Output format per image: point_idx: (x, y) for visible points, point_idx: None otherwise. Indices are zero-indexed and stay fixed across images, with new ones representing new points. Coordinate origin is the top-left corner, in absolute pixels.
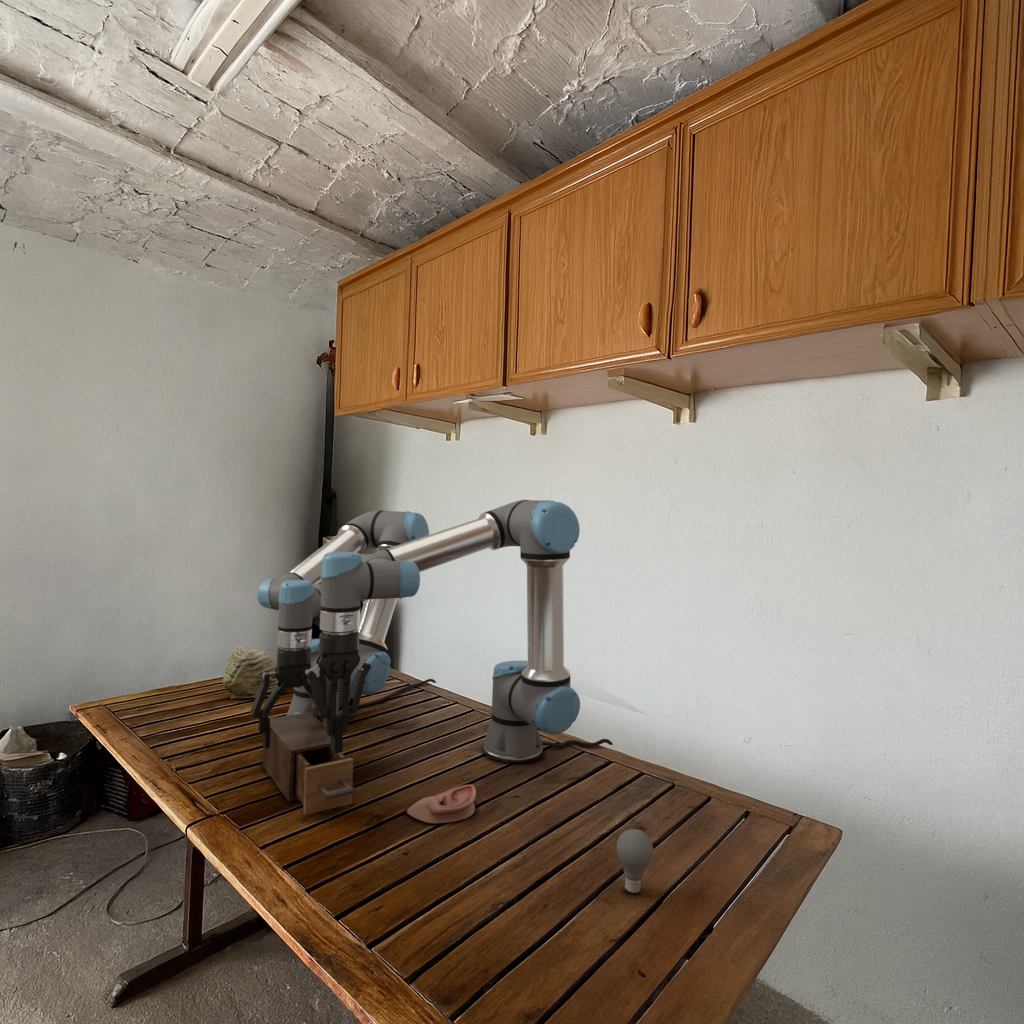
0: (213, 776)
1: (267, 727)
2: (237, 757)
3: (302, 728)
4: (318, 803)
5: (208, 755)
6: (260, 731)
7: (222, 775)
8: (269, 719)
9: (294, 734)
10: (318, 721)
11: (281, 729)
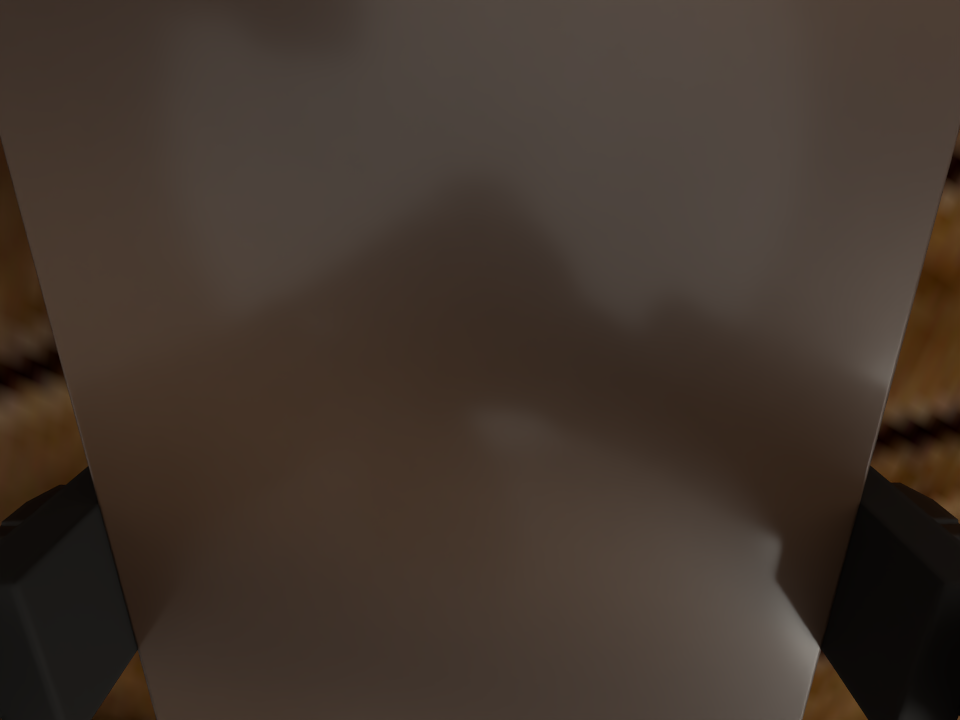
0: (954, 425)
1: (883, 492)
2: None
3: (435, 106)
4: None
5: (840, 700)
6: (920, 497)
7: (904, 413)
8: (946, 577)
9: None
10: (78, 338)
11: (790, 255)
